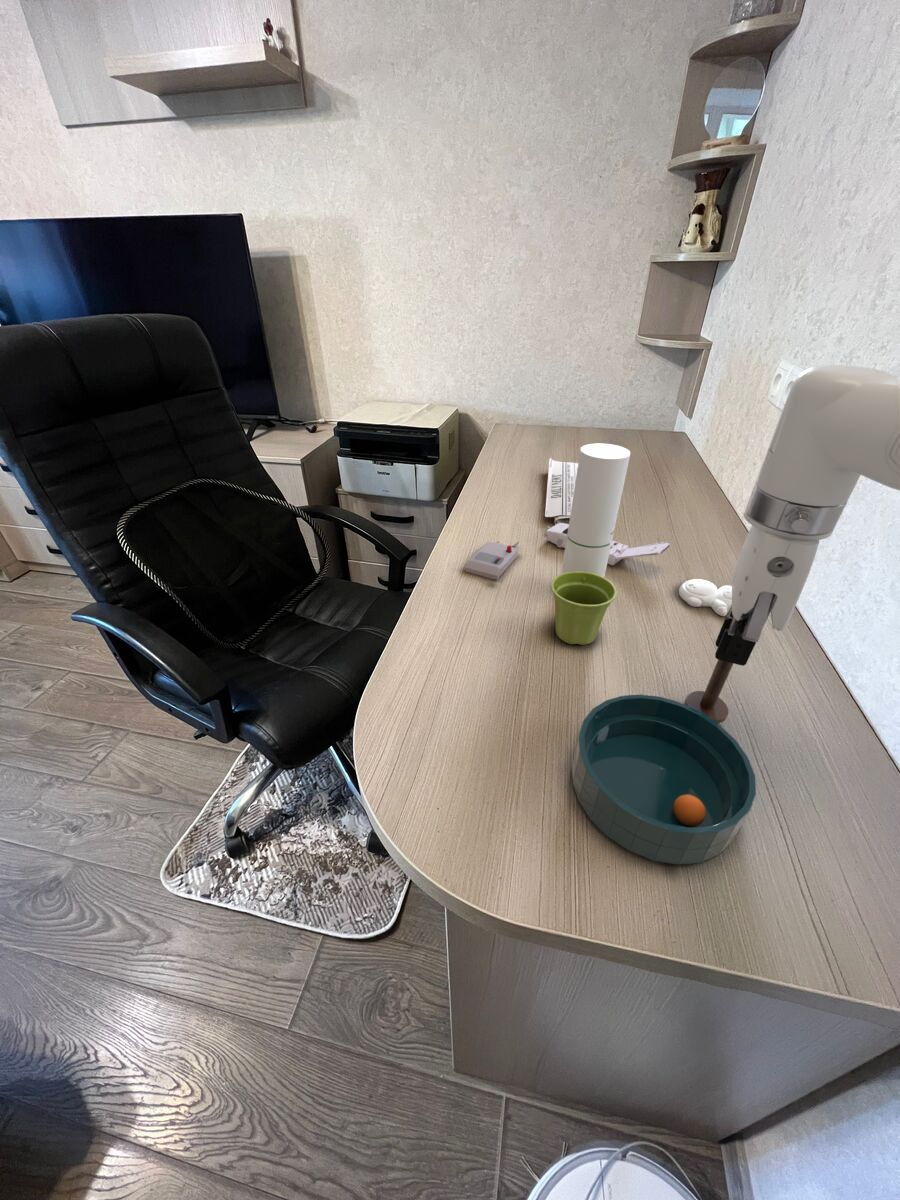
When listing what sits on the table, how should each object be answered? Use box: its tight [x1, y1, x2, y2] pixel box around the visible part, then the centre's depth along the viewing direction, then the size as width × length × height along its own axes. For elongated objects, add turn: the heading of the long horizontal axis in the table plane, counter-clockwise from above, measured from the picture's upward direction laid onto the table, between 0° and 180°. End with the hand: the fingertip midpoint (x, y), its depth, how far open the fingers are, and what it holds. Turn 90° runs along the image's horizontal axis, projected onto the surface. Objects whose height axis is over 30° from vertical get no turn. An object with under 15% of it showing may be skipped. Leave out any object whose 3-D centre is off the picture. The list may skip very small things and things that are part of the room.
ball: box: [673, 795, 706, 826], centre depth 51 cm, size 3×3×3 cm
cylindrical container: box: [560, 442, 631, 578], centre depth 81 cm, size 7×7×25 cm
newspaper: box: [544, 457, 579, 525], centre depth 122 cm, size 35×12×4 cm, turn 172°
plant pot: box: [550, 571, 618, 646], centre depth 76 cm, size 9×9×9 cm
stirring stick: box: [683, 619, 748, 725], centre depth 59 cm, size 5×5×15 cm
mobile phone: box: [545, 523, 671, 566], centre depth 97 cm, size 6×6×25 cm
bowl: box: [571, 693, 757, 865], centre depth 54 cm, size 17×17×6 cm
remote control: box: [464, 540, 520, 582], centre depth 96 cm, size 7×16×3 cm, turn 152°
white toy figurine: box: [678, 578, 732, 617], centre depth 85 cm, size 9×12×3 cm
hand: (729, 653), depth 58 cm, fingers closed on stirring stick
